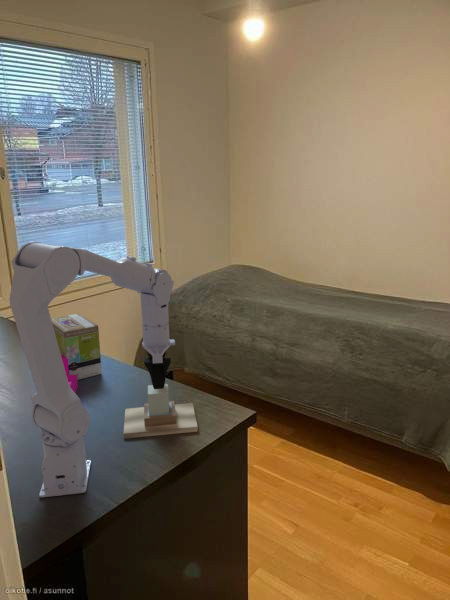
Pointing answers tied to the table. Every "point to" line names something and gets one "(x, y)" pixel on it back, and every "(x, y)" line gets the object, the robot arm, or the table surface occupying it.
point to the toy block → (71, 378)
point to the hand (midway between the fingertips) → (158, 380)
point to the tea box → (79, 344)
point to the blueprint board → (143, 431)
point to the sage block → (158, 400)
